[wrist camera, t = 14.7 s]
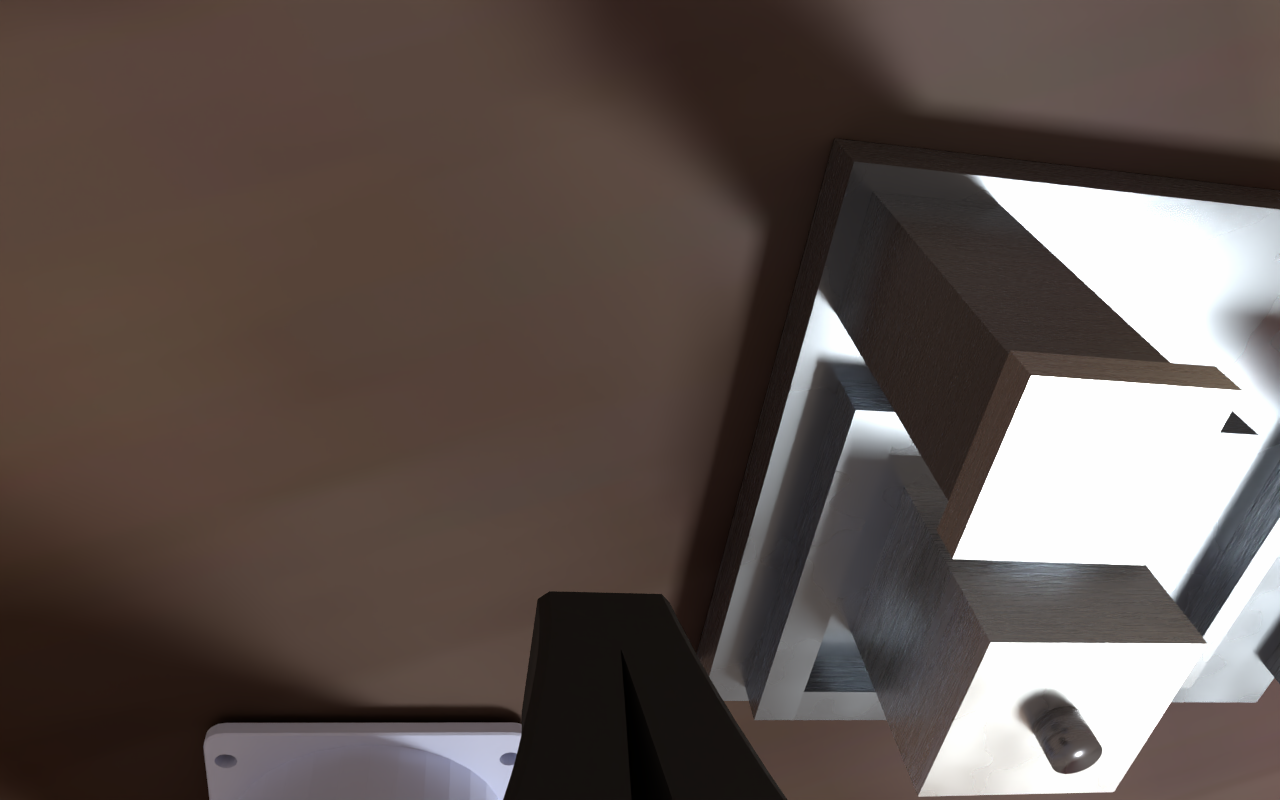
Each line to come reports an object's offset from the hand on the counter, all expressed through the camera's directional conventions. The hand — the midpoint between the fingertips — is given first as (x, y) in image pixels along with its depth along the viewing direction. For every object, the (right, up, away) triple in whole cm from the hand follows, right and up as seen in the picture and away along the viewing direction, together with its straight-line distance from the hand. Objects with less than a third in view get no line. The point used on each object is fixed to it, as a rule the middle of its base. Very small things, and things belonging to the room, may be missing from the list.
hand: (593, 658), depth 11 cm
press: (+11, +1, +13) cm, 17 cm away
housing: (+8, -1, +13) cm, 15 cm away
